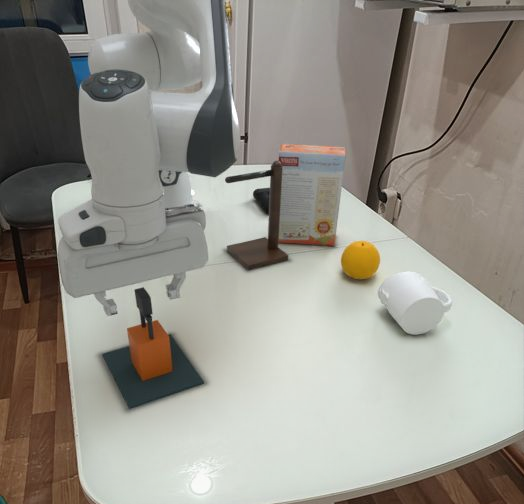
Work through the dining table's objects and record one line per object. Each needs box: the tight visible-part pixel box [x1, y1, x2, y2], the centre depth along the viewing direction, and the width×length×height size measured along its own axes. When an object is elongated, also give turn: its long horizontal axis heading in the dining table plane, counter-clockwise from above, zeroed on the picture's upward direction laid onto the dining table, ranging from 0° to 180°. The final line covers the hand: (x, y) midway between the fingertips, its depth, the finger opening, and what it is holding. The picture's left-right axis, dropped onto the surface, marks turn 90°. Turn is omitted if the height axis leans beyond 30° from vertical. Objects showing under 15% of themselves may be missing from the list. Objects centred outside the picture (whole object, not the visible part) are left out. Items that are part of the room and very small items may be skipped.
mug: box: [377, 271, 453, 336], centre depth 93 cm, size 12×9×8 cm
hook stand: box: [224, 160, 289, 271], centre depth 107 cm, size 10×13×20 cm
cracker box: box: [278, 143, 346, 247], centre depth 114 cm, size 14×6×21 cm, turn 84°
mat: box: [101, 333, 205, 409], centre depth 82 cm, size 14×12×1 cm
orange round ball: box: [340, 240, 381, 280], centre depth 106 cm, size 8×8×8 cm
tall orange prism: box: [126, 286, 173, 381], centre depth 78 cm, size 5×5×14 cm
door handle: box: [252, 187, 270, 215], centre depth 135 cm, size 3×20×16 cm
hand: (143, 304), depth 74 cm, fingers open, 8 cm apart
